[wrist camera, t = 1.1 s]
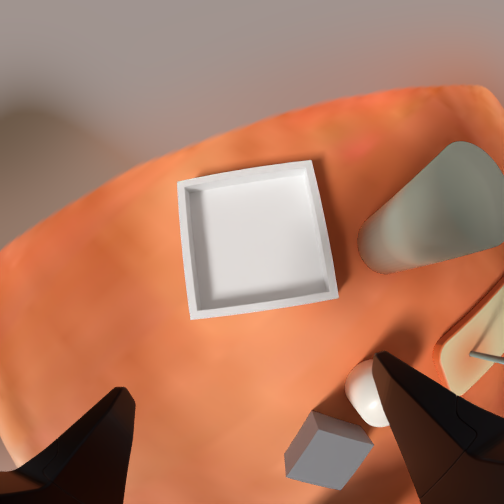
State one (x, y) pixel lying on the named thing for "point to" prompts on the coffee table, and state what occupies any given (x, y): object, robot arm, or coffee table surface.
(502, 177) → the pale green cylinder
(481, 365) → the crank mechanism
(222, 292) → the white tray
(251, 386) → the coffee table surface
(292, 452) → the grey block
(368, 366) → the white rounded cylinder
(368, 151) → the coffee table surface
